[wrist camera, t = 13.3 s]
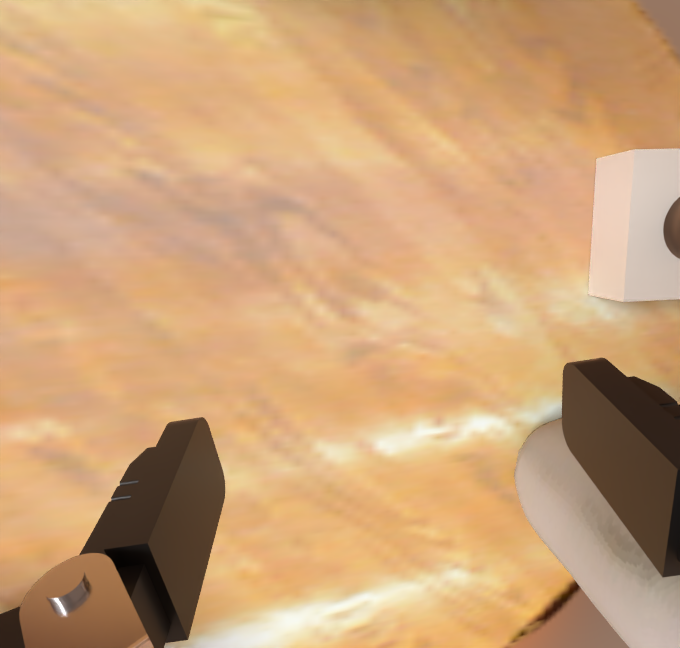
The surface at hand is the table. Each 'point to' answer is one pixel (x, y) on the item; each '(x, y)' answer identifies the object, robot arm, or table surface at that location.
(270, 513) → the table surface
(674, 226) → the pepper mill
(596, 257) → the riser block
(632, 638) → the grey vase
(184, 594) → the robot arm
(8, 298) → the table surface
